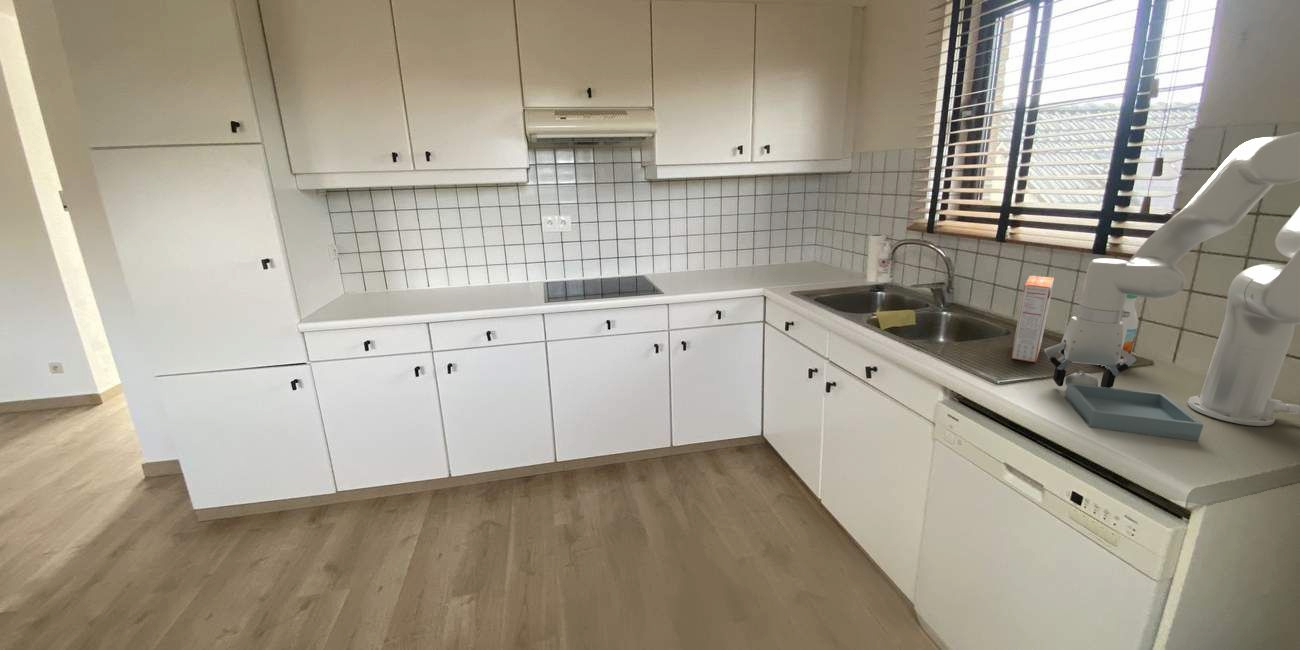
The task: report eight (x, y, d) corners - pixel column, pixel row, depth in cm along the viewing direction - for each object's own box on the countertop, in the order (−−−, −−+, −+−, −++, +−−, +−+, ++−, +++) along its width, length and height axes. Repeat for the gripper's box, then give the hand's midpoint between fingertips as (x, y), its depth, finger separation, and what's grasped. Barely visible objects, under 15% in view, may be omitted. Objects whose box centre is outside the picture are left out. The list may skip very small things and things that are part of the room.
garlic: (1069, 394, 122) (1074, 373, 120) (1060, 385, 127) (1065, 365, 125) (1100, 398, 120) (1106, 376, 118) (1090, 388, 125) (1095, 368, 123)
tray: (1158, 408, 114) (1163, 393, 113) (1198, 441, 101) (1203, 424, 100) (1064, 397, 120) (1067, 383, 119) (1089, 427, 107) (1093, 411, 106)
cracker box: (1015, 345, 154) (1029, 274, 148) (1040, 349, 151) (1056, 277, 144) (1008, 358, 144) (1023, 283, 138) (1035, 363, 140) (1052, 286, 134)
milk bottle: (1106, 369, 135) (1126, 294, 130) (1081, 359, 143) (1098, 286, 137) (1135, 368, 136) (1156, 293, 130) (1108, 358, 143) (1127, 286, 137)
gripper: (1139, 313, 118) (1120, 385, 123) (1047, 307, 124) (1032, 376, 129) (1156, 322, 111) (1135, 398, 117) (1057, 315, 117) (1041, 388, 123)
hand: (1081, 386), depth 123 cm, fingers open, 8 cm apart
